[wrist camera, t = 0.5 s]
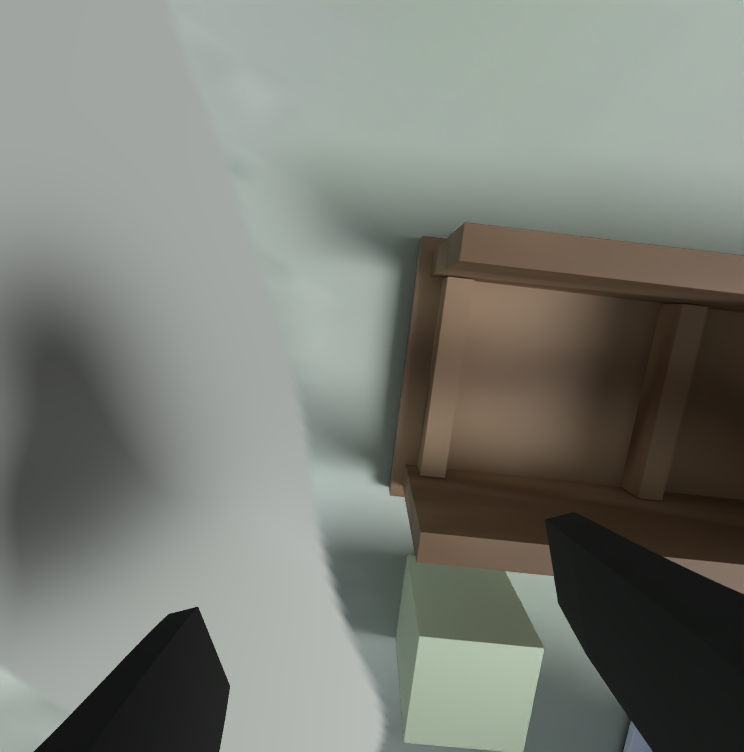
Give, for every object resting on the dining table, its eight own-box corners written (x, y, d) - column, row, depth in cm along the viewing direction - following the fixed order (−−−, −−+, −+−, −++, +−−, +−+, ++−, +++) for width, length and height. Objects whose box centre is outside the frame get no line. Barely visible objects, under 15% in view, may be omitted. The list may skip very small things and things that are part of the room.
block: (486, 646, 20) (522, 753, 16) (395, 637, 20) (403, 742, 15) (500, 563, 20) (544, 648, 15) (407, 553, 20) (419, 636, 15)
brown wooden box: (904, 541, 20) (1155, 650, 13) (389, 487, 19) (398, 575, 13) (986, 306, 18) (1319, 305, 12) (420, 239, 17) (448, 200, 11)
